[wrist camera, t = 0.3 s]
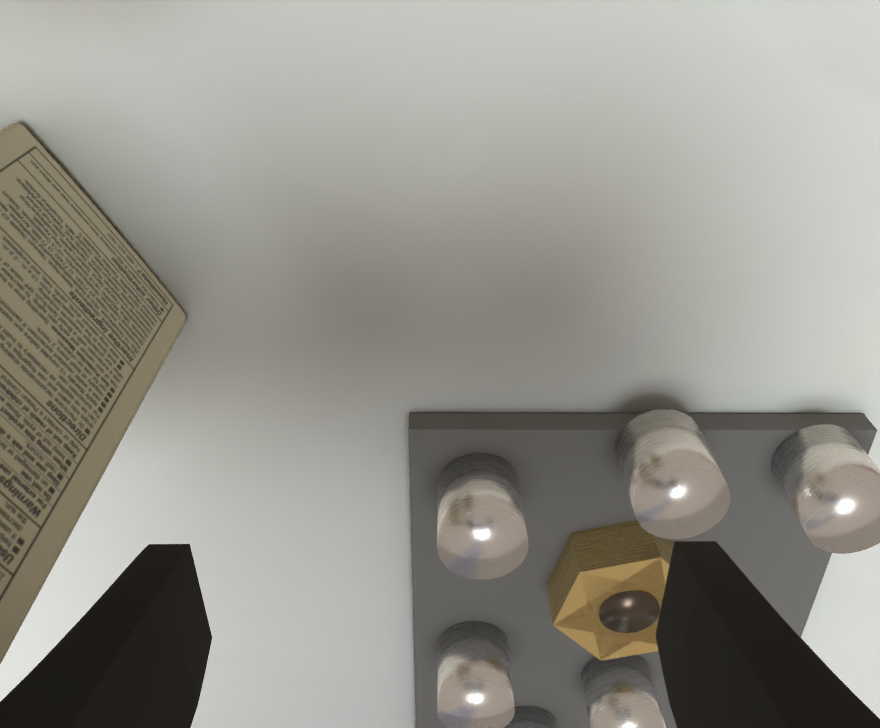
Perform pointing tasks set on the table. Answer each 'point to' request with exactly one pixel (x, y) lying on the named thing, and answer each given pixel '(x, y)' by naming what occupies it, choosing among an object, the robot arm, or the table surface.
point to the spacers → (658, 512)
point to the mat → (587, 507)
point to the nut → (610, 589)
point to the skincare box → (63, 360)
